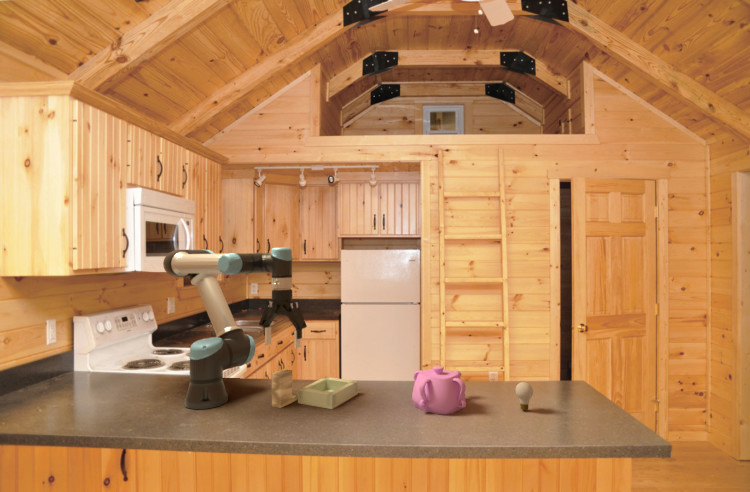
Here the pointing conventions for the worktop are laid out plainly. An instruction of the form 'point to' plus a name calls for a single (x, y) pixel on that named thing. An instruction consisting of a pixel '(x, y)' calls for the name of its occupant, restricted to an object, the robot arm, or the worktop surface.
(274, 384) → the wooden stepped block
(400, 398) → the worktop surface
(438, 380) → the pink multi-handled pot
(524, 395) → the light bulb
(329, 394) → the well block
